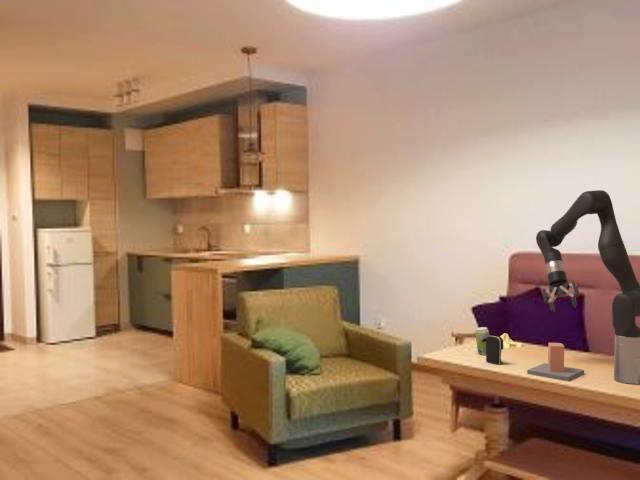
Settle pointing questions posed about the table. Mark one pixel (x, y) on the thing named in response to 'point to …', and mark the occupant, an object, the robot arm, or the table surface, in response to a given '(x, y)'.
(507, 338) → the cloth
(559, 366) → the salmon orange block
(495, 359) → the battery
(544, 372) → the base plate
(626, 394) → the table surface
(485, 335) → the beverage can
